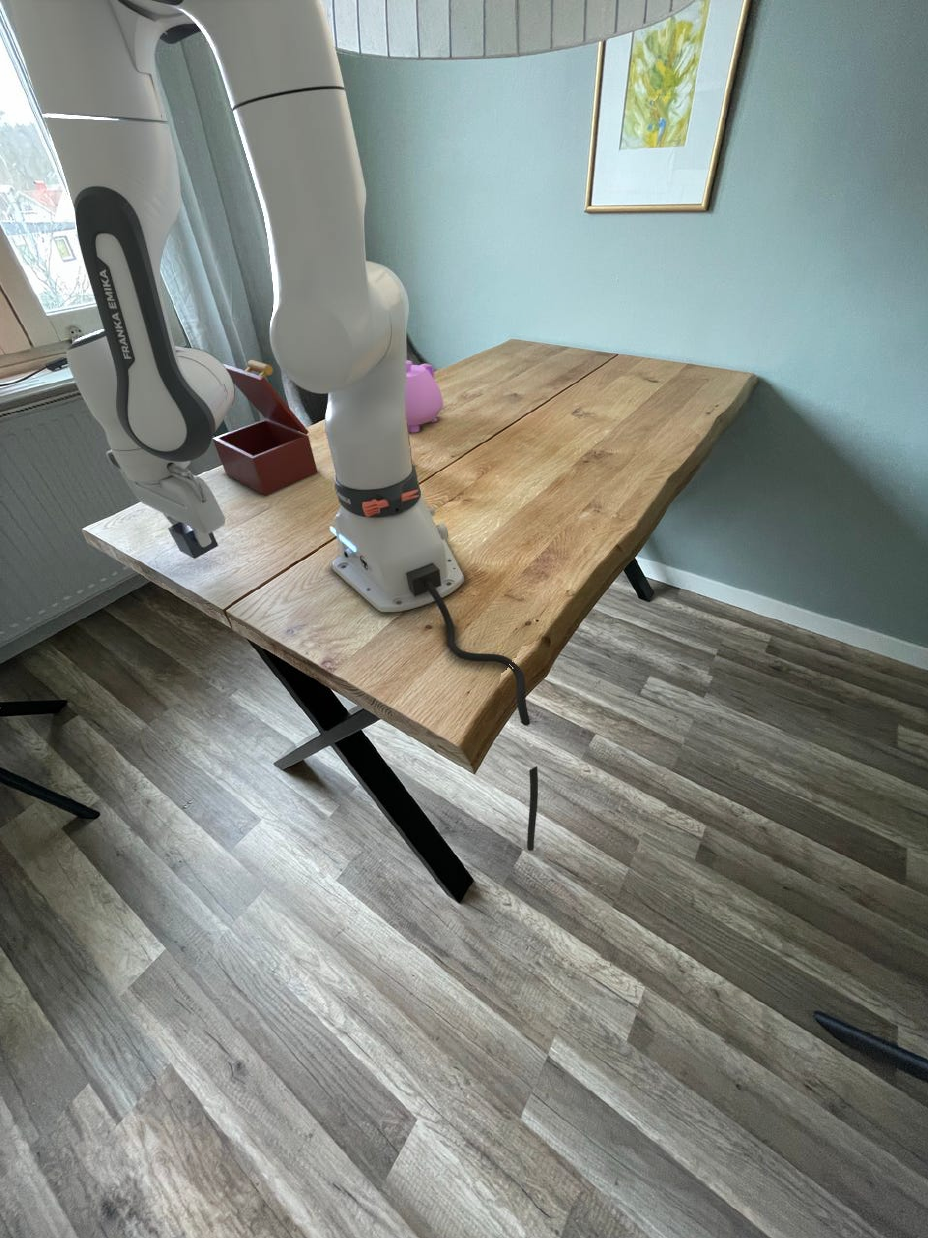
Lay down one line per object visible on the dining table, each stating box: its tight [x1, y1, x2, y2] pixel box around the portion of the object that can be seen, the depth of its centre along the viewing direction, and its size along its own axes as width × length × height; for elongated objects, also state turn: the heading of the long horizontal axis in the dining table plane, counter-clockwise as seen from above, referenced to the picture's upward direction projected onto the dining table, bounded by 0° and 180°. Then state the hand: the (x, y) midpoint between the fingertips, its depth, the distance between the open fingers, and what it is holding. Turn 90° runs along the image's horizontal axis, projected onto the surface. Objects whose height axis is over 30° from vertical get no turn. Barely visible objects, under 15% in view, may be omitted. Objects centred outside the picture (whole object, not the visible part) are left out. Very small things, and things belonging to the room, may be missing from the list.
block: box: [167, 522, 219, 560], centre depth 83 cm, size 4×4×4 cm
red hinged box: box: [212, 418, 319, 497], centre depth 107 cm, size 13×16×8 cm
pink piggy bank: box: [406, 359, 444, 433], centre depth 121 cm, size 22×16×14 cm
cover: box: [221, 359, 310, 436], centre depth 102 cm, size 14×16×5 cm
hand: (195, 539), depth 83 cm, fingers closed on block, 4 cm apart
